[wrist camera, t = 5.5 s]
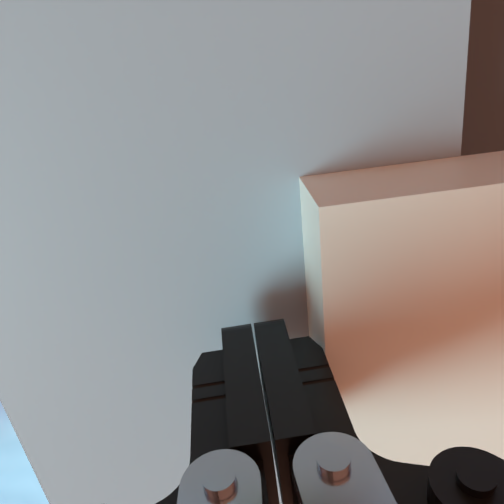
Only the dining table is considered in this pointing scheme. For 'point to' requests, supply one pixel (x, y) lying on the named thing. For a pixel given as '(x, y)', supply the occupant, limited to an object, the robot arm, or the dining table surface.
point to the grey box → (181, 198)
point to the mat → (484, 80)
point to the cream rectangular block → (411, 300)
